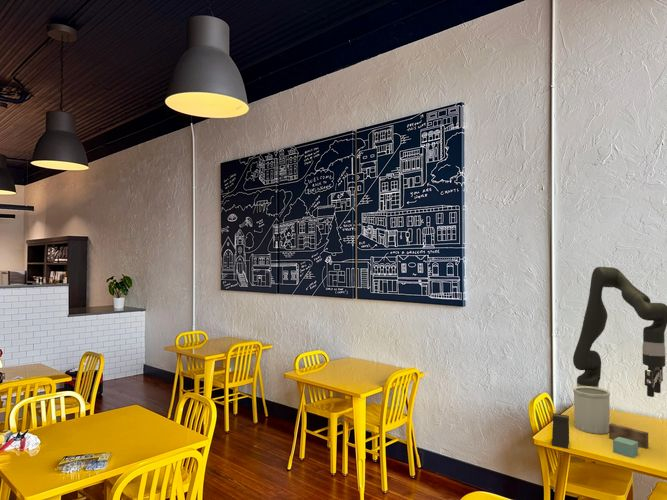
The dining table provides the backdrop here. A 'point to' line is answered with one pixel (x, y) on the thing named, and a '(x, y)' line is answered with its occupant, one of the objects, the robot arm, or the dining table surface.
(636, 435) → the walnut board
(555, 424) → the phone stand
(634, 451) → the teal block
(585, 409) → the utensil holder
